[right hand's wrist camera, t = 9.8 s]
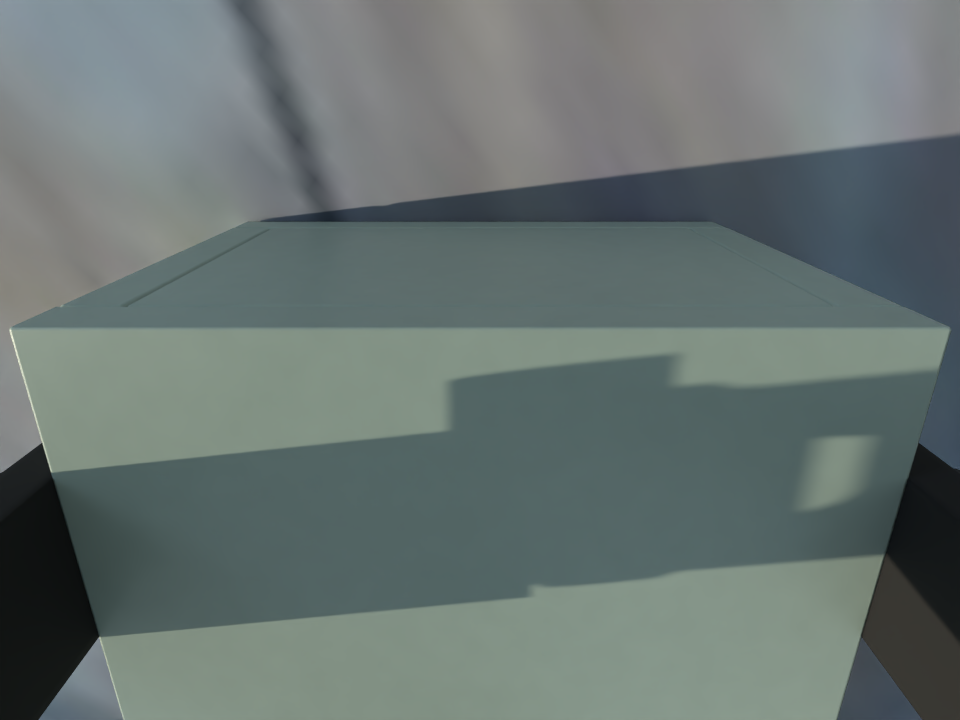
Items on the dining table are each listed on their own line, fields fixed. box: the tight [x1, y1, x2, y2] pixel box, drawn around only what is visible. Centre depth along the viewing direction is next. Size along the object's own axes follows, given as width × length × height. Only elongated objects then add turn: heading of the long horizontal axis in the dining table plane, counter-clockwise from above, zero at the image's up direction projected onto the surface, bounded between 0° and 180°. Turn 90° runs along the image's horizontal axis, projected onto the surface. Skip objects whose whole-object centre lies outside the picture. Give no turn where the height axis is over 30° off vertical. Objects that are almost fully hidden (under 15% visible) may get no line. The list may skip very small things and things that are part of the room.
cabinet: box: [10, 222, 951, 720], centre depth 14 cm, size 17×11×8 cm, turn 0°
